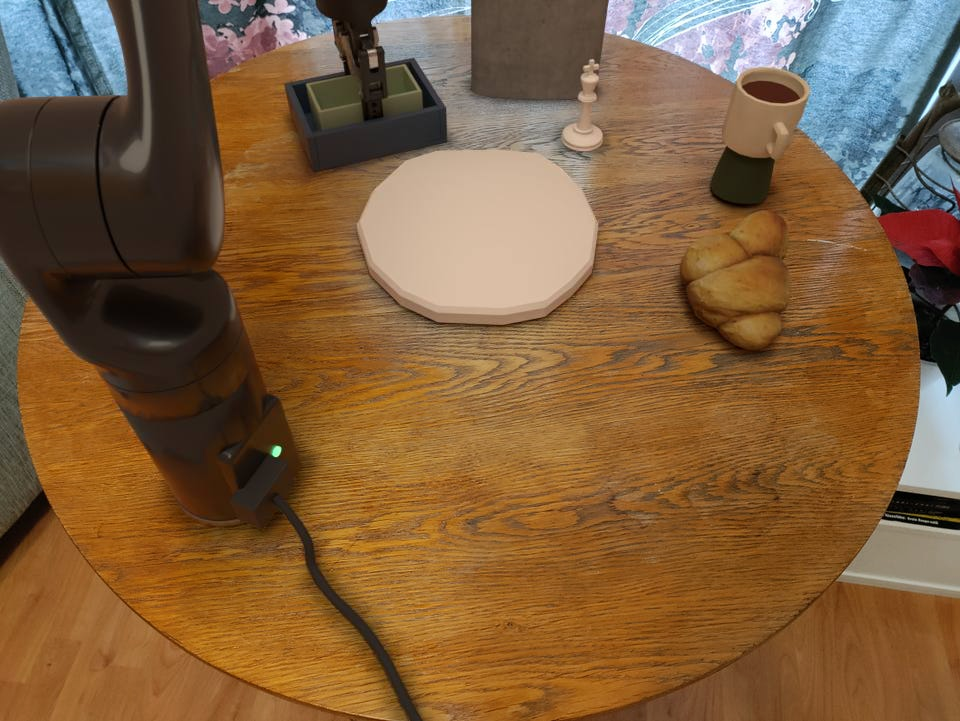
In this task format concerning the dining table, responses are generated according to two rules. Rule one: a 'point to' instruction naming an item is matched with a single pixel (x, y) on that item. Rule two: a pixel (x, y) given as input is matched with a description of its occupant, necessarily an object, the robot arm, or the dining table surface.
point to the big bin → (368, 126)
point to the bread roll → (741, 279)
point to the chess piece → (584, 116)
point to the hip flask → (534, 47)
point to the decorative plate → (479, 236)
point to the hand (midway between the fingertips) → (365, 106)
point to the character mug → (757, 132)
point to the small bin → (342, 101)
